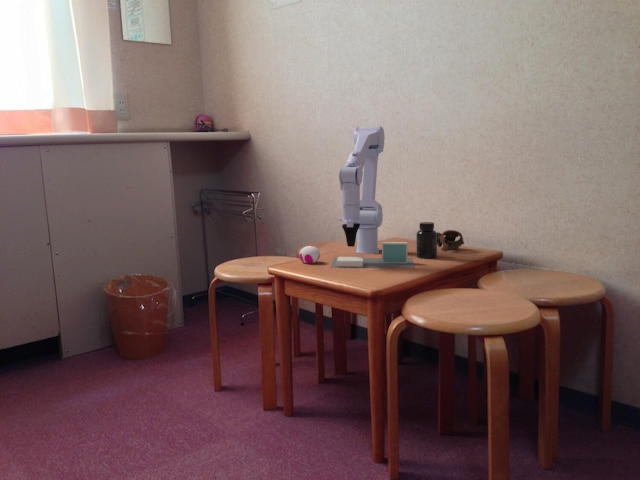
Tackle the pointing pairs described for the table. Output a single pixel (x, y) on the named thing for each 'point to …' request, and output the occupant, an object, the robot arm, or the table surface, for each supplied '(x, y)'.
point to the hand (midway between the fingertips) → (351, 246)
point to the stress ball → (309, 254)
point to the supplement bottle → (426, 241)
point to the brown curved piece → (449, 240)
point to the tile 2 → (394, 252)
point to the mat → (379, 263)
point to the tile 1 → (350, 262)
